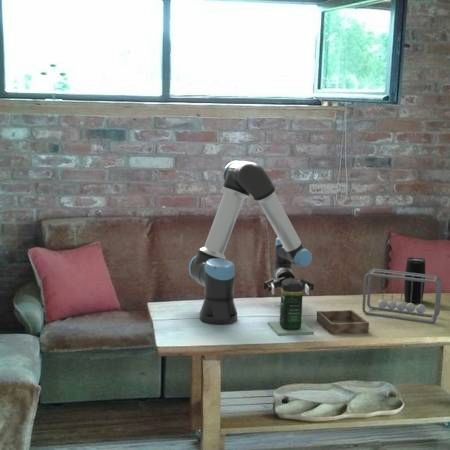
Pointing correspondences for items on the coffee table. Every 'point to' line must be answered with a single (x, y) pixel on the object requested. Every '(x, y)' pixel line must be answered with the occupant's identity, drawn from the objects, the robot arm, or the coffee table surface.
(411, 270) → the portable speaker
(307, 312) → the coffee table surface
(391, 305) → the newton's cradle
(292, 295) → the coffee jar
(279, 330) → the sage mat
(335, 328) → the walnut caddy
